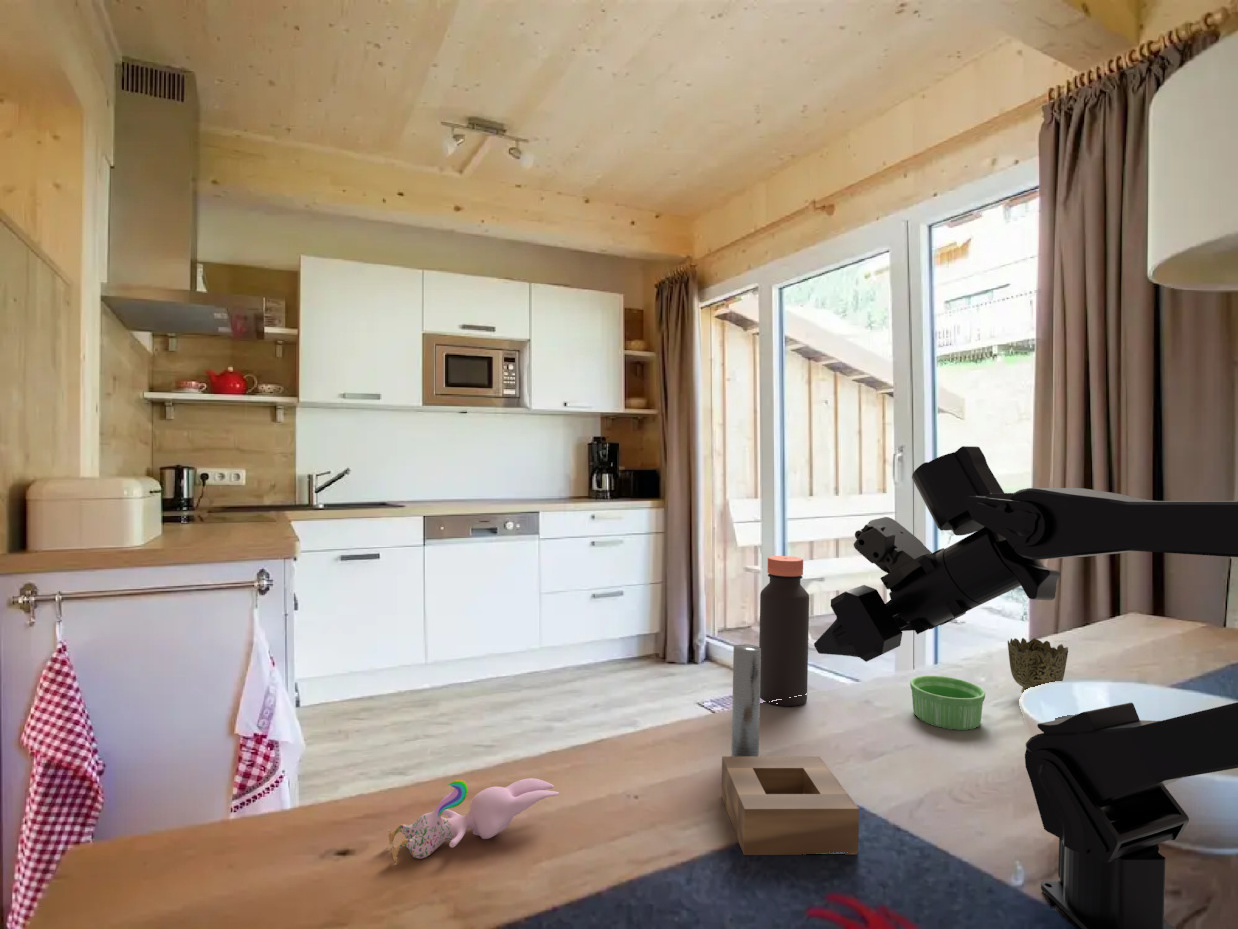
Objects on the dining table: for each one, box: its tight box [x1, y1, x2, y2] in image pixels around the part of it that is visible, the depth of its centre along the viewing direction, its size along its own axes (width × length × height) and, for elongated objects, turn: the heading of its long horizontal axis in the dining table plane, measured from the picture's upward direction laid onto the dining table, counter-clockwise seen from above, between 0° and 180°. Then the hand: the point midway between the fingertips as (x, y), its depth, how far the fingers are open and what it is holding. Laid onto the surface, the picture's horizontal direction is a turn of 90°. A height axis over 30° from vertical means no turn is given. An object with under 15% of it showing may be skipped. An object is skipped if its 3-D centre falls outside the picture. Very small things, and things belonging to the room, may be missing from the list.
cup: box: [1007, 637, 1069, 694], centre depth 96 cm, size 8×7×8 cm
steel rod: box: [730, 643, 761, 756], centre depth 74 cm, size 3×3×13 cm
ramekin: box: [909, 675, 986, 731], centre depth 89 cm, size 9×9×4 cm
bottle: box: [758, 555, 810, 707], centre depth 95 cm, size 7×7×20 cm
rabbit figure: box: [387, 777, 560, 866], centre depth 59 cm, size 6×6×15 cm
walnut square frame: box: [720, 755, 860, 856], centre depth 63 cm, size 10×10×4 cm
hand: (840, 638), depth 72 cm, fingers open, 9 cm apart
